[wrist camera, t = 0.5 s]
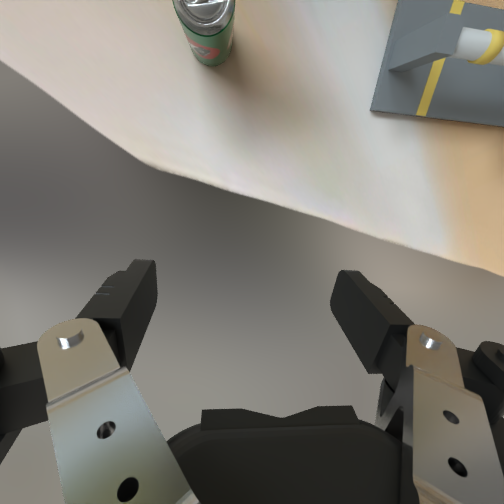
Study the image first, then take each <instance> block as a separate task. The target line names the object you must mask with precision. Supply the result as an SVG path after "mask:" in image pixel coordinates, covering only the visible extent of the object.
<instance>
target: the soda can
mask: <svg viewBox="0 0 504 504" xmlns="http://www.w3.org/2000/svg"><path fill="white" fill-rule="evenodd" d="M172 1H173V5H174V8H175V11H176V13H177V16H178V18H179V21H180V23H181V26H182V28H183V30H184V33H185V35H186V38H187V40H188V43H189V45H190V47H191V50H192V52H193V54H194V55H195V57H196V58H197V59H198V60H199V61H200V62H202V63H203V64H205V65H208V66H217V65H219V64H221V63H223V62H224V61H225V60H226V59H227V58H228V56H229V54H230V52H231V48H232V39H233V25H234V12H235V0H172Z"/></svg>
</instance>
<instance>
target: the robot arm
mask: <svg viewBox="0 0 504 504" xmlns="http://www.w3.org/2000/svg"><path fill="white" fill-rule="evenodd" d="M157 294H158V293H157V277H156V264H155V261H154V260H140V259H135V260H133V262H132V263H131V264H130V266H129V267H128V269H127V270H126V271H118V272H116V273H115V274H113V275H111V276H110V277H108V278H107V280H106V281H105V282H104V283H103V284H102V287H101V288H99V289H98V291H97V292H96V294H95V295H94V296H93V297H92V298H91V299H90V301H89V302H88V303H87V304H86V306H85V307H84V308H83V310H82V311H81V312H80V313H79V314H78V316H77V317H76V318H75V319H72V320H68V321H64V322H62V323H59V324H57V325H55V326H53V327H52V328H50V329H49V330H47V331H46V332H45V333H44V334H43V335H42V336H41V337H40V338H39V340H38V341H37V342H32V343H27V344H22V345H17V346H12V347H7V348H2V349H1V348H0V464H1V462H2V461H3V459H4V458H5V456H6V454H7V453H8V451H9V449H10V448H11V446H12V445H13V443H14V441H15V440H16V438H17V436H18V435H19V433H20V432H21V430H22V428H25V427H28V426H31V425H34V424H38V423H41V422H44V421H47V420H49V425H50V430H51V435H52V440H53V445H54V451H55V456H56V461H57V465H58V471H59V476H60V481H61V486H62V491H63V496H64V501H65V504H504V418H503V417H502V416H503V415H504V345H502V344H499V343H495V342H490V341H484V342H482V343H481V344H480V345H479V347H478V348H477V350H476V351H475V352H473V351H469V350H465V349H461V348H457V347H455V345H454V344H453V342H451V340H449V338H447V337H446V336H445V335H443V334H442V333H440V332H438V331H437V330H435V329H432V328H430V327H427V326H423V325H415V324H414V323H413V322H412V321H411V320H410V319H409V318H408V317H407V316H406V315H405V314H404V313H403V312H402V311H401V310H400V309H399V307H398V306H397V305H396V304H394V302H393V301H392V300H391V299H390V298H388V297H387V295H386V294H385V293H384V292H383V291H382V290H381V289H380V288H378V287H377V286H375V285H373V284H372V283H370V282H369V281H368V280H367V279H366V278H365V277H364V276H363V275H362V274H361V273H360V272H359V271H352V270H341V271H340V272H339V273H338V276H337V279H336V283H335V286H334V289H333V293H332V296H331V300H330V306H331V311H332V313H333V315H334V316H335V318H336V320H337V321H338V323H339V325H340V326H341V328H342V330H343V332H344V333H345V335H346V337H347V338H348V340H349V342H350V343H351V345H352V347H353V349H354V350H355V352H356V353H357V355H358V357H359V359H360V361H361V362H362V364H363V365H364V367H365V369H366V371H367V372H368V374H372V373H373V374H383V376H384V378H383V380H382V382H381V386H380V393H379V400H378V407H377V413H376V419H375V425H372V424H370V423H368V422H365V421H362V420H359V419H358V418H357V416H356V414H355V411H354V409H353V407H352V406H317V407H314V408H311V409H308V410H305V411H303V412H300V413H297V414H294V415H291V416H288V417H285V418H279V417H274V416H270V415H266V414H262V413H258V412H253V411H249V410H245V409H213V410H212V409H209V410H202V417H201V423H200V424H197V425H194V426H192V427H189V428H187V429H185V430H183V431H181V432H179V433H178V434H176V435H174V436H173V437H172V438H170V439H169V440H168V441H166V440H165V439H164V437H163V435H162V433H161V431H160V429H159V428H158V425H157V423H156V422H155V420H154V418H153V416H152V414H151V412H150V410H149V408H148V406H147V405H146V403H145V401H144V399H143V397H142V395H141V393H140V391H139V389H138V388H137V386H136V384H135V382H134V380H133V378H132V376H131V374H130V370H131V368H132V365H133V363H134V360H135V358H136V355H137V352H138V350H139V347H140V345H141V342H142V340H143V337H144V334H145V332H146V330H147V327H148V325H149V322H150V320H151V317H152V314H153V312H154V310H155V307H156V303H157Z"/></svg>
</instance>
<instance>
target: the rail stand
mask: <svg viewBox="0 0 504 504" xmlns="http://www.w3.org/2000/svg"><path fill="white" fill-rule="evenodd" d="M370 110H371V111H379V112H387V113H395V114H403V115H411V116H419V117H427V118H435V119H443V120H451V121H459V122H468V123H476V124H484V125H492V126H500V127H504V10H502V9H497V8H492V7H487V6H481V5H476V4H471V3H466V2H464V1H459V0H398V3H397V7H396V11H395V15H394V19H393V23H392V26H391V30H390V34H389V38H388V42H387V46H386V50H385V54H384V57H383V61H382V65H381V69H380V73H379V77H378V81H377V85H376V89H375V92H374V96H373V100H372V104H371V108H370Z"/></svg>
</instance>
